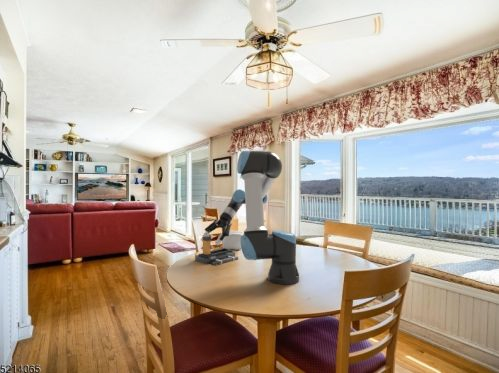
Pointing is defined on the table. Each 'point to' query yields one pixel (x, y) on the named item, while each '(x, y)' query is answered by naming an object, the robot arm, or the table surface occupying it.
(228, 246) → the cable organizer
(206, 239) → the breaker toggle
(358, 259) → the table surface
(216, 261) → the cord bundle
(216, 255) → the breaker panel
